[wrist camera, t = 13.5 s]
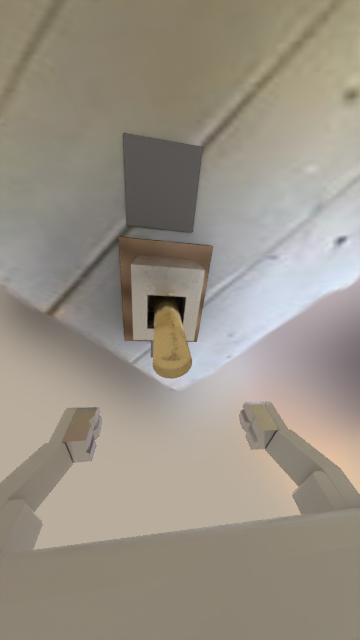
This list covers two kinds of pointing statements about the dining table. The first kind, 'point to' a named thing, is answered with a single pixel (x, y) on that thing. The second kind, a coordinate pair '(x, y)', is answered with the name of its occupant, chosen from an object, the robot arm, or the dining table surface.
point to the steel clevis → (165, 292)
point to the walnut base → (160, 249)
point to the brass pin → (169, 340)
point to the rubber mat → (161, 182)
